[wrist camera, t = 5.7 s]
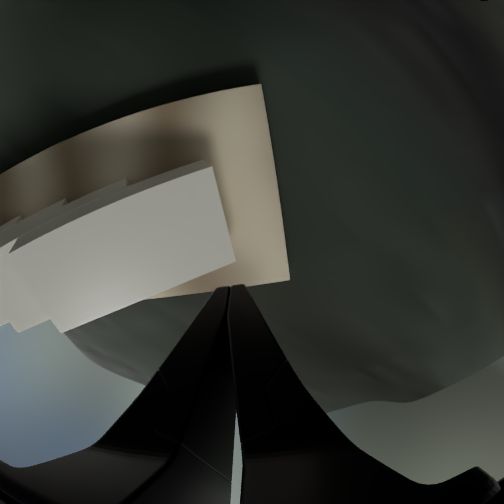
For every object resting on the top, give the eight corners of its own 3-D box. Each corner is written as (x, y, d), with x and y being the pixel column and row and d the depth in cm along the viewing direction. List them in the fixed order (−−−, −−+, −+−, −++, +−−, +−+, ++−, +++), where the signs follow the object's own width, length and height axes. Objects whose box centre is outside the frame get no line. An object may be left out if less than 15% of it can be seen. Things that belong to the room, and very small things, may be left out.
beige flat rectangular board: (260, 83, 12) (261, 84, 11) (287, 269, 18) (289, 280, 17) (-29, 192, 14) (-37, 198, 13) (30, 302, 20) (25, 310, 19)
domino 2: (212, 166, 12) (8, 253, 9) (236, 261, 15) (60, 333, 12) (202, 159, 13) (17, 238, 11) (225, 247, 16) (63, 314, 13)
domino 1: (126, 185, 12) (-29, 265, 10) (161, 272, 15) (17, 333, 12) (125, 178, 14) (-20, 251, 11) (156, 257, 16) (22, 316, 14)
